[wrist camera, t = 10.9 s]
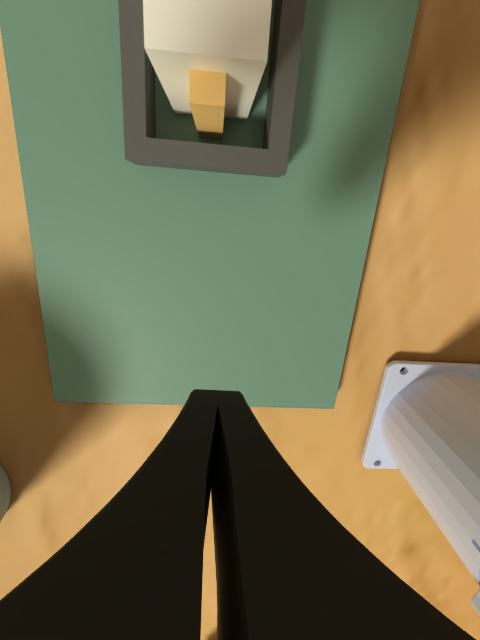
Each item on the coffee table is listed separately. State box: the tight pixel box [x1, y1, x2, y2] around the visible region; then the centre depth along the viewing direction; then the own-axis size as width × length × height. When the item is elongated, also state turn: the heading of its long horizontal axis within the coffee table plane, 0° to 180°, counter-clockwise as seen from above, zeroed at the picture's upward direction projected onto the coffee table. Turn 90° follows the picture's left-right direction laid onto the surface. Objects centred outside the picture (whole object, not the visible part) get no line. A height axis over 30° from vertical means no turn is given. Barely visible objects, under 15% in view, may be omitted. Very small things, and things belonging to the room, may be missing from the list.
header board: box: [0, 0, 420, 409], centre depth 14 cm, size 16×22×3 cm
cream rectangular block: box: [143, 0, 272, 139], centre depth 10 cm, size 3×5×6 cm, turn 176°
